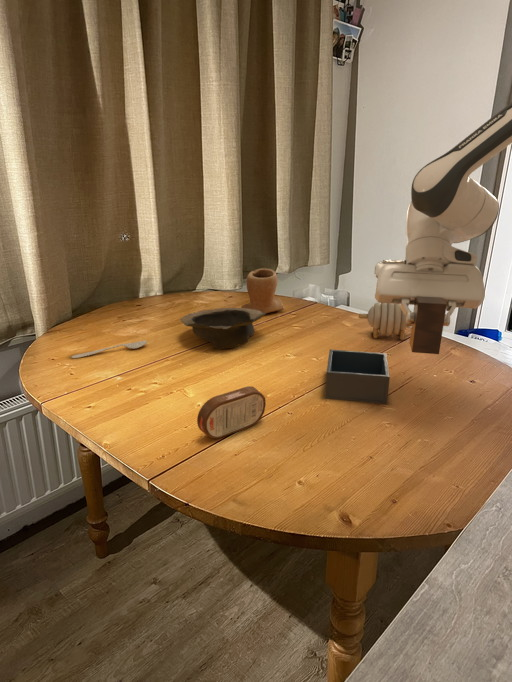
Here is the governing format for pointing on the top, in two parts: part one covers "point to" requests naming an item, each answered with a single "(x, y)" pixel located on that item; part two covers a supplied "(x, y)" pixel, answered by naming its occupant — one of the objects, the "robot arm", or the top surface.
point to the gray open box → (357, 376)
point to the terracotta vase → (263, 291)
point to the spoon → (129, 345)
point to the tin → (231, 412)
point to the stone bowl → (224, 325)
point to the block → (427, 325)
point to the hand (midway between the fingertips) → (428, 323)
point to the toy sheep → (387, 319)
